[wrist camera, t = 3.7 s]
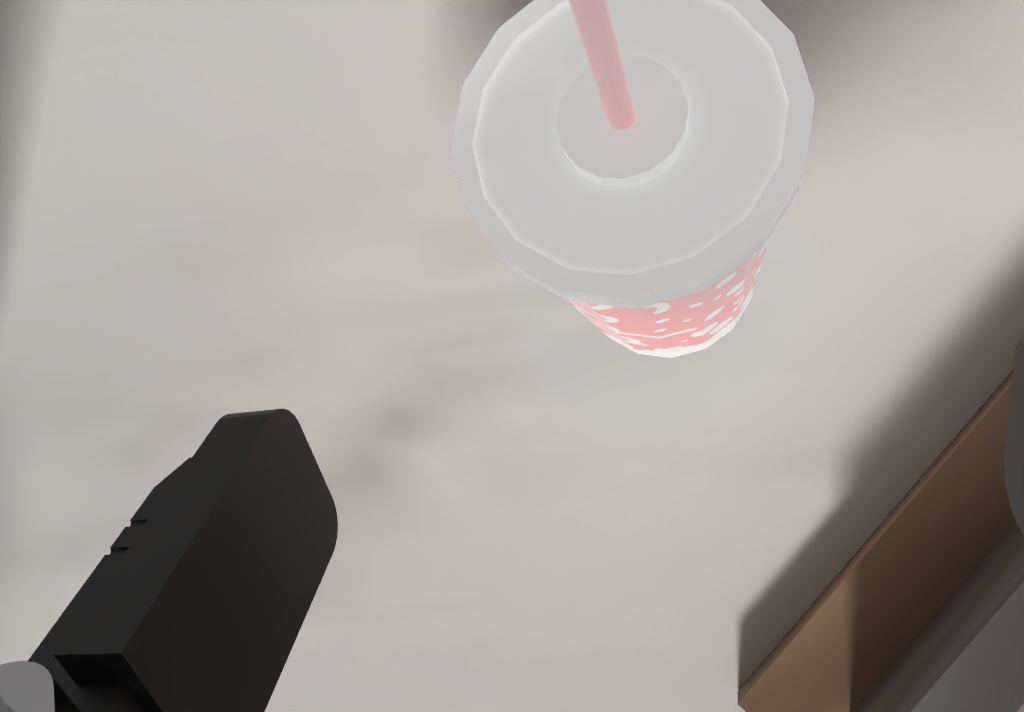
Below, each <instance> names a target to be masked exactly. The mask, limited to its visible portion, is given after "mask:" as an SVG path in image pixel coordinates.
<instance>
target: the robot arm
mask: <svg viewBox="0 0 1024 712" xmlns="http://www.w3.org/2000/svg"><path fill="white" fill-rule="evenodd" d="M1004 476H1005V484H1006V490H1007V495H1008V499H1009V503H1010V506H1011V509H1012V512H1013V515H1014V517H1015V519H1016V522H1017V524H1018V526H1019V528H1020V530H1021V532H1022V534H1023V536H1024V338H1023V339H1022V340H1021V341H1020V342H1019V344H1018V346H1017V349H1016V353H1015V359H1014V367H1013V376H1012V386H1011V395H1010V405H1009V414H1008V423H1007V433H1006V442H1005V451H1004ZM130 521H131V526H130V527H125V528H124V530H123V531H122V532H121V534H120V535H119V537H118V538H117V539H116V541H115V542H114V543H113V545H112V546H111V554H110V555H105V556H104V557H103V559H102V560H101V561H100V563H99V564H98V565H97V567H96V568H95V570H94V571H93V572H92V574H91V575H90V576H89V578H88V579H87V581H86V582H85V583H84V585H83V586H82V587H81V589H80V590H79V591H78V593H77V594H76V596H75V597H74V598H73V600H72V601H71V602H70V604H69V605H68V607H67V608H66V609H65V611H64V612H63V613H62V615H61V616H60V618H59V619H58V620H57V622H56V623H55V624H54V626H53V627H52V629H51V630H50V631H49V633H48V634H47V635H46V637H45V638H44V640H43V641H42V642H41V644H40V645H39V646H38V648H37V649H36V650H35V652H34V653H33V655H32V656H31V657H30V659H29V660H28V661H19V662H11V663H6V664H2V665H0V712H264V711H265V709H266V707H267V704H268V702H269V700H270V698H271V695H272V693H273V691H274V688H275V686H276V684H277V681H278V679H279V677H280V674H281V672H282V670H283V667H284V665H285V663H286V661H287V658H288V656H289V654H290V651H291V649H292V647H293V644H294V642H295V640H296V637H297V635H298V633H299V630H300V628H301V626H302V623H303V621H304V619H305V617H306V614H307V612H308V610H309V607H310V605H311V603H312V600H313V598H314V596H315V593H316V591H317V589H318V586H319V584H320V582H321V580H322V577H323V575H324V573H325V570H326V568H327V566H328V563H329V561H330V559H331V556H332V554H333V551H334V549H335V545H336V540H337V531H338V522H337V513H336V508H335V504H334V501H333V498H332V496H331V494H330V491H329V489H328V487H327V485H326V482H325V480H324V478H323V476H322V473H321V471H320V469H319V467H318V464H317V462H316V460H315V458H314V455H313V453H312V451H311V449H310V446H309V444H308V442H307V440H306V437H305V435H304V433H303V431H302V428H301V426H300V424H299V422H298V420H297V419H296V417H295V416H294V415H293V414H292V413H291V412H290V411H288V410H286V409H275V410H265V411H254V412H244V413H234V414H227V415H225V416H223V417H222V418H220V419H219V421H218V422H217V423H216V424H215V426H214V427H213V429H212V430H211V432H210V433H209V434H208V436H207V437H206V439H205V440H204V441H203V443H202V444H201V446H200V447H199V449H198V450H197V451H196V453H195V454H194V456H193V457H192V458H189V459H188V460H186V461H185V462H184V463H183V464H182V465H180V466H179V467H178V468H177V469H176V470H175V471H173V472H172V473H171V474H170V475H169V476H167V477H166V478H165V479H164V480H163V481H161V482H160V483H159V484H158V485H157V486H155V487H154V489H153V490H152V491H151V493H150V494H149V495H148V497H147V498H146V500H145V501H144V502H143V504H142V505H141V506H140V508H139V509H138V511H137V512H136V513H135V515H134V516H133V517H132V519H131V520H130Z"/></svg>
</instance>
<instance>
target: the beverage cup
mask: <svg viewBox="0 0 1024 712" xmlns="http://www.w3.org/2000/svg"><path fill="white" fill-rule="evenodd" d="M814 101H815V97H814V94H813V91H812V88H811V85H810V82H809V79H808V76H807V73H806V70H805V67H804V64H803V61H802V58H801V55H800V52H799V49H798V46H797V43H796V40H795V36H794V34H793V33H792V32H791V31H790V30H789V29H788V28H787V27H786V26H785V25H784V24H783V23H782V22H781V21H780V20H779V19H778V18H777V17H776V16H775V15H774V14H773V12H772V11H771V10H770V9H769V8H768V7H767V6H766V5H765V4H764V3H763V2H762V1H761V0H533V1H532V2H531V3H529V4H528V5H527V6H526V7H524V8H523V9H522V10H521V11H519V12H518V13H517V14H516V15H514V16H513V17H512V18H511V19H509V20H508V21H507V22H506V23H504V24H503V25H502V26H500V27H499V28H498V30H497V31H496V33H495V34H494V36H493V38H492V39H491V41H490V42H489V44H488V45H487V47H486V49H485V50H484V52H483V53H482V55H481V57H480V58H479V60H478V61H477V63H476V65H475V66H474V68H473V69H472V71H471V73H470V74H469V76H468V77H467V79H466V80H465V82H464V84H463V88H462V93H461V98H460V103H459V108H458V113H457V118H456V123H455V128H454V133H453V138H452V143H451V149H452V154H453V159H454V164H455V168H456V173H457V178H458V183H459V188H460V193H461V197H462V202H463V207H464V208H465V210H466V211H467V212H468V214H469V215H470V217H471V218H472V219H473V221H474V222H475V223H476V225H477V226H478V228H479V229H480V230H481V232H482V233H483V234H484V236H485V237H486V238H487V240H488V241H489V243H490V244H491V245H492V247H493V248H494V249H495V251H496V252H497V254H498V255H499V256H500V258H501V259H502V260H503V261H504V262H505V263H506V264H508V265H510V266H511V267H512V268H513V270H514V271H516V272H518V273H520V274H521V275H523V276H525V277H527V278H529V279H530V280H532V281H534V282H536V283H537V284H539V285H541V286H543V287H544V288H546V289H548V290H550V291H551V292H553V293H555V294H557V295H559V296H560V297H562V298H564V299H566V300H567V301H569V302H570V303H571V304H572V305H574V306H575V307H576V308H577V309H578V310H579V311H580V312H581V313H582V314H584V315H585V316H586V317H587V318H588V319H589V320H590V321H591V322H592V323H594V324H595V325H596V326H597V327H598V328H599V329H600V330H601V331H603V332H604V333H605V334H606V335H607V336H608V337H609V338H611V339H613V340H615V341H616V342H618V343H620V344H622V345H623V346H625V347H627V348H629V349H630V350H632V351H634V352H636V353H638V354H646V355H653V356H661V357H669V358H672V357H676V356H680V355H684V354H688V353H692V352H696V351H699V350H703V349H706V348H707V347H708V346H710V345H711V344H713V343H714V342H715V341H717V340H718V339H719V338H721V337H722V336H723V335H725V334H726V333H728V332H729V331H730V330H732V329H733V328H734V326H735V324H736V323H737V321H738V320H739V318H740V316H741V315H742V313H743V311H744V310H745V308H746V306H747V305H748V303H749V302H750V300H751V297H752V294H753V291H754V287H755V284H756V281H757V277H758V274H759V271H760V267H761V264H762V261H763V257H764V254H765V251H766V247H767V244H768V241H769V238H770V236H771V234H772V233H773V231H774V229H775V228H776V226H777V224H778V223H779V221H780V220H781V218H782V216H783V215H784V213H785V211H786V210H787V208H788V206H789V205H790V203H791V202H792V200H793V198H794V197H795V195H796V193H797V192H798V190H799V188H800V186H801V180H802V178H803V177H804V175H805V169H806V162H807V154H808V147H809V139H810V131H811V124H812V116H813V109H814Z"/></svg>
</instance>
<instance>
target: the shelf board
mask: <svg viewBox="0 0 1024 712" xmlns="http://www.w3.org/2000/svg"><path fill="white" fill-rule="evenodd" d="M1012 376H1013V371H1012V372H1011V373H1010V374H1009V375H1008V377H1007V378H1006V379H1005V380H1004V381H1003V382H1002V384H1001V385H1000V386H999V387H998V388H997V389H996V391H995V392H994V393H993V394H992V395H991V396H990V398H989V399H988V400H987V401H986V402H985V403H984V405H983V406H982V407H981V408H980V409H979V410H978V412H977V413H976V414H975V415H974V416H973V417H972V419H971V420H970V421H969V422H968V423H967V424H966V426H965V427H964V428H963V429H962V430H961V431H960V433H959V434H958V435H957V436H956V437H955V438H954V440H953V441H952V442H951V443H950V444H949V445H948V447H947V448H946V449H945V450H944V451H943V452H942V454H941V455H940V456H939V457H938V458H937V460H936V461H935V462H934V463H933V464H932V465H931V467H930V468H929V469H928V470H927V471H926V472H925V474H924V475H923V476H922V477H921V478H920V479H919V481H918V482H917V483H916V484H915V485H914V486H913V488H912V489H911V490H910V491H909V492H908V493H907V495H906V496H905V497H904V498H903V499H902V500H901V502H900V503H899V504H898V505H897V506H896V507H895V509H894V510H893V511H892V512H891V513H890V514H889V516H888V517H887V518H886V519H885V520H884V521H883V523H882V524H881V525H880V526H879V527H878V528H877V530H876V531H875V532H874V533H873V534H872V535H871V537H870V538H869V539H868V540H867V541H866V543H865V544H864V545H863V546H862V547H861V548H860V550H859V551H858V552H857V553H856V554H855V555H854V557H853V558H852V559H851V560H850V561H849V562H848V564H847V565H846V566H845V567H844V568H843V569H842V571H841V572H840V573H839V574H838V575H837V576H836V578H835V579H834V580H833V581H832V582H831V583H830V585H829V586H828V587H827V588H826V589H825V590H824V592H823V593H822V594H821V595H820V596H819V597H818V599H817V600H816V601H815V602H814V603H813V604H812V606H811V607H810V608H809V609H808V610H807V611H806V613H805V614H804V615H803V616H802V617H801V618H800V620H799V621H798V622H797V623H796V624H795V626H794V627H793V628H792V629H791V630H790V631H789V633H788V634H787V635H786V636H785V637H784V638H783V640H782V641H781V642H780V643H779V644H778V645H777V647H776V648H775V649H774V650H773V651H772V652H771V654H770V655H769V656H768V657H767V658H766V659H765V661H764V662H763V663H762V664H761V665H760V666H759V668H758V669H757V670H756V671H755V672H754V673H753V675H752V676H751V677H750V678H749V679H748V680H747V682H746V683H745V684H744V685H743V686H742V687H741V689H740V690H739V691H738V705H739V706H740V707H742V708H743V709H744V710H745V711H746V712H1024V536H1023V534H1022V532H1021V530H1020V528H1019V526H1018V524H1017V522H1016V519H1015V517H1014V515H1013V512H1012V509H1011V506H1010V503H1009V499H1008V495H1007V490H1006V484H1005V476H1004V451H1005V442H1006V433H1007V423H1008V414H1009V405H1010V395H1011V386H1012Z"/></svg>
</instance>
